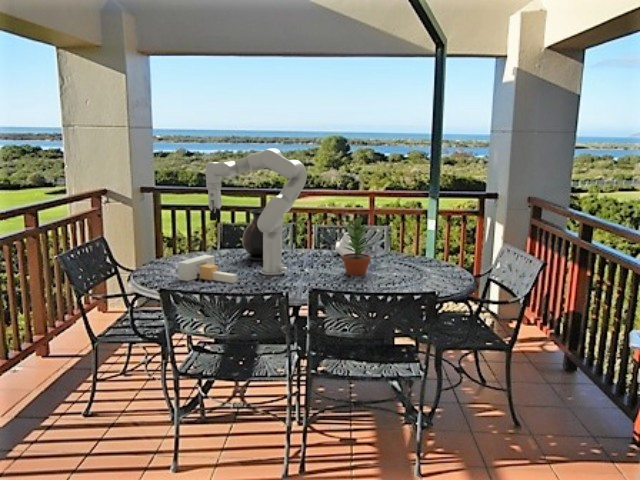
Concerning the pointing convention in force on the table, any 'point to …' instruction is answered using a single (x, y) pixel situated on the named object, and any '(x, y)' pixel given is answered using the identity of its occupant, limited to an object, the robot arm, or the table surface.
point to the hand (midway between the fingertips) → (215, 219)
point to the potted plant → (356, 250)
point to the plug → (216, 274)
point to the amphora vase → (253, 238)
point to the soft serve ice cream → (344, 245)
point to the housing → (193, 266)
